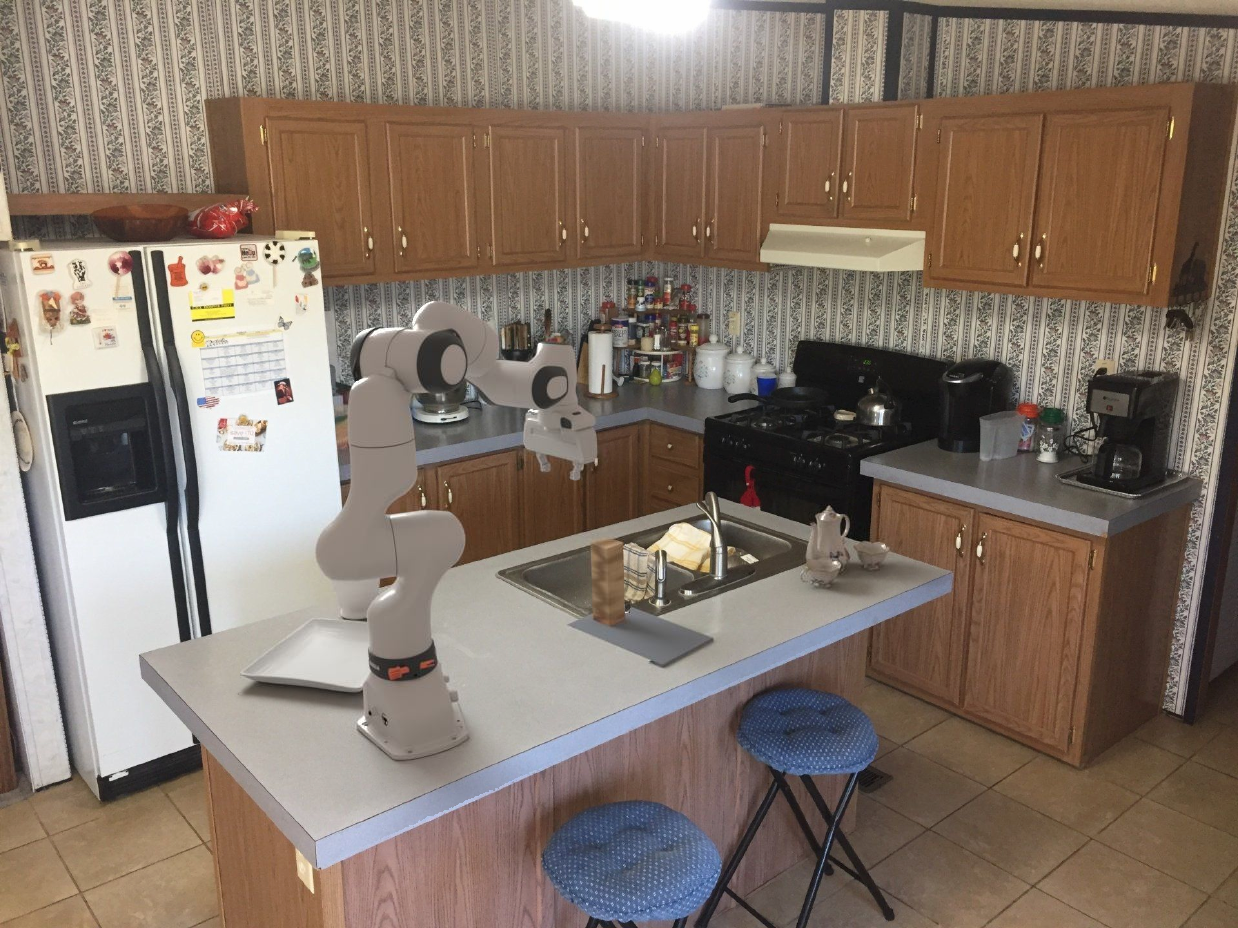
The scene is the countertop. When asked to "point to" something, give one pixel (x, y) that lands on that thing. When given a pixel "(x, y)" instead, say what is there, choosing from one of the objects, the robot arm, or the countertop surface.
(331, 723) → the countertop surface
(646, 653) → the mat
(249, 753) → the countertop surface
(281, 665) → the square plate
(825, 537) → the chinaware
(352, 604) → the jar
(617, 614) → the oak block
